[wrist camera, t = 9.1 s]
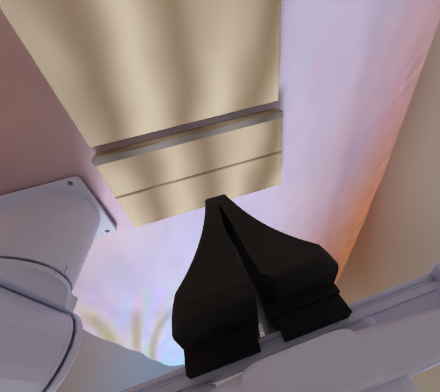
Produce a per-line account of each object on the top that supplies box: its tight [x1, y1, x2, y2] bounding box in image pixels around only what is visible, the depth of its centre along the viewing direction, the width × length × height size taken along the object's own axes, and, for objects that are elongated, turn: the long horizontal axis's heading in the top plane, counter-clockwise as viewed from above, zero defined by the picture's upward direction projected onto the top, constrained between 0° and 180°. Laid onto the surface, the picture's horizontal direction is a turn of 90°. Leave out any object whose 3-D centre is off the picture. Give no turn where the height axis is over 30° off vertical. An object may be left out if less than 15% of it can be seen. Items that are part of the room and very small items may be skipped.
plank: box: [0, 0, 281, 148], centre depth 15 cm, size 18×10×2 cm, turn 100°
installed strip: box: [91, 108, 283, 227], centre depth 21 cm, size 19×9×2 cm, turn 100°
